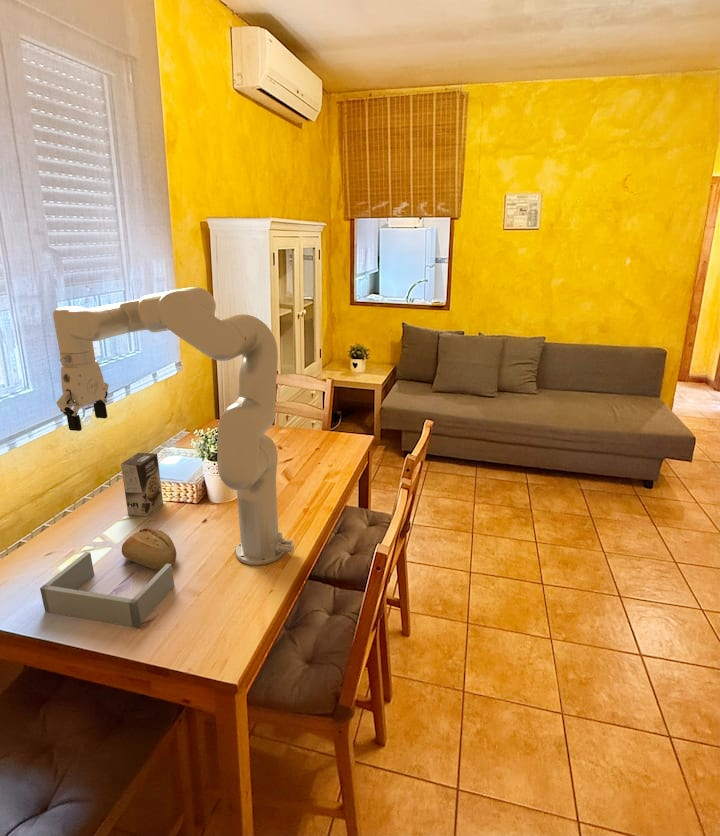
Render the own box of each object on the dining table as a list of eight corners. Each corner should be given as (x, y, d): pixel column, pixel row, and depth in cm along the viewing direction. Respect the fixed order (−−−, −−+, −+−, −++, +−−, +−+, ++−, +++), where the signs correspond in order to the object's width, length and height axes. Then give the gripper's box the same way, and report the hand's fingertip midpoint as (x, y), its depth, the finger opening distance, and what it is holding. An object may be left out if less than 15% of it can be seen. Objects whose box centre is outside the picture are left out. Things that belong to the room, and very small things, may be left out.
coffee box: (147, 517, 156) (140, 465, 150) (127, 514, 157) (119, 463, 152) (164, 502, 164) (158, 453, 159) (145, 500, 165) (138, 451, 160)
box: (174, 586, 125) (171, 564, 123) (137, 627, 112) (133, 603, 110) (89, 573, 130) (85, 551, 128) (45, 611, 117) (39, 588, 115)
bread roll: (142, 545, 142) (138, 518, 139) (187, 558, 136) (184, 530, 134) (113, 564, 133) (108, 536, 131) (160, 579, 128) (156, 549, 125)
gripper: (65, 367, 124) (78, 436, 129) (114, 351, 140) (123, 414, 145) (37, 365, 125) (51, 434, 131) (88, 350, 141) (98, 412, 147)
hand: (89, 423), depth 138 cm, fingers open, 9 cm apart
